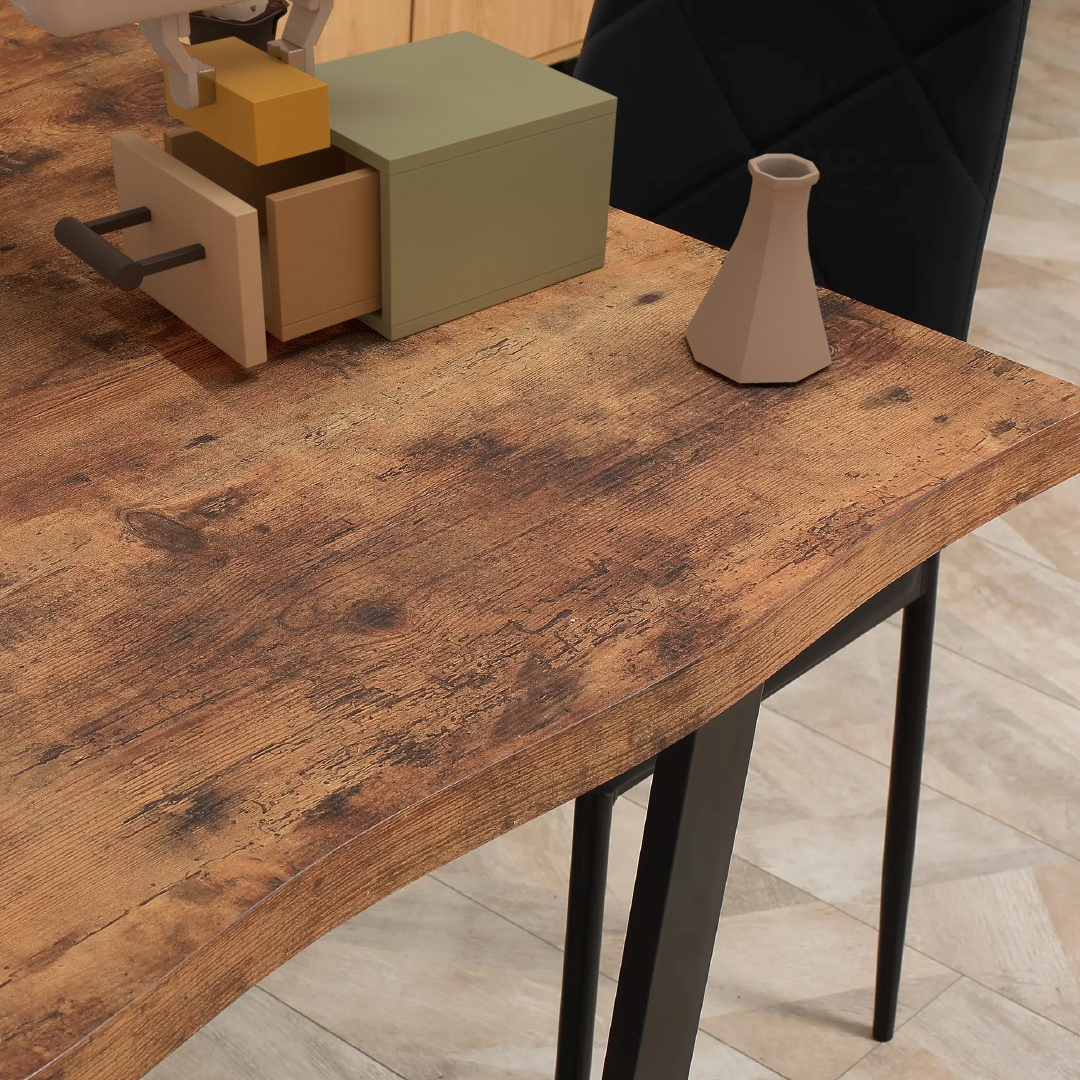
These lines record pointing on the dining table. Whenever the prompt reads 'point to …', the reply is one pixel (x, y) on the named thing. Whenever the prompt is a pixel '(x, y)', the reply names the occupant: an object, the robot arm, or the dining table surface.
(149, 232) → the drawer
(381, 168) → the cabinet
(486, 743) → the dining table surface
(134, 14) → the robot arm
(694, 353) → the flask
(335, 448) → the dining table surface
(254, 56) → the yellow rectangular block
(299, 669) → the dining table surface
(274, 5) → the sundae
